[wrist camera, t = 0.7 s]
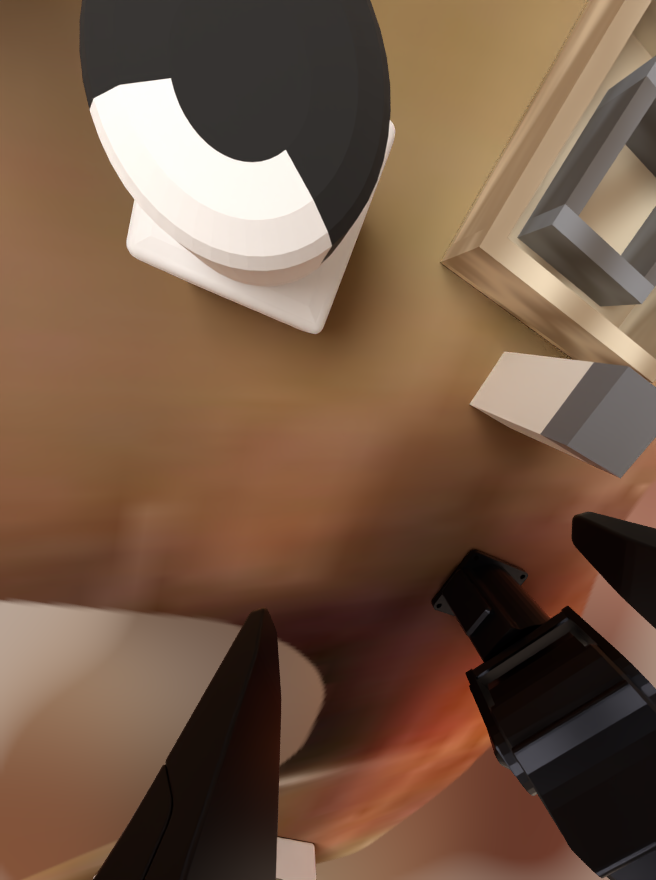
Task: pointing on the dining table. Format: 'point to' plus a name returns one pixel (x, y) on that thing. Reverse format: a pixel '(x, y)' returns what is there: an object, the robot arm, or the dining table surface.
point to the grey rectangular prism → (573, 407)
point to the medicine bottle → (243, 139)
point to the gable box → (295, 860)
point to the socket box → (578, 198)
